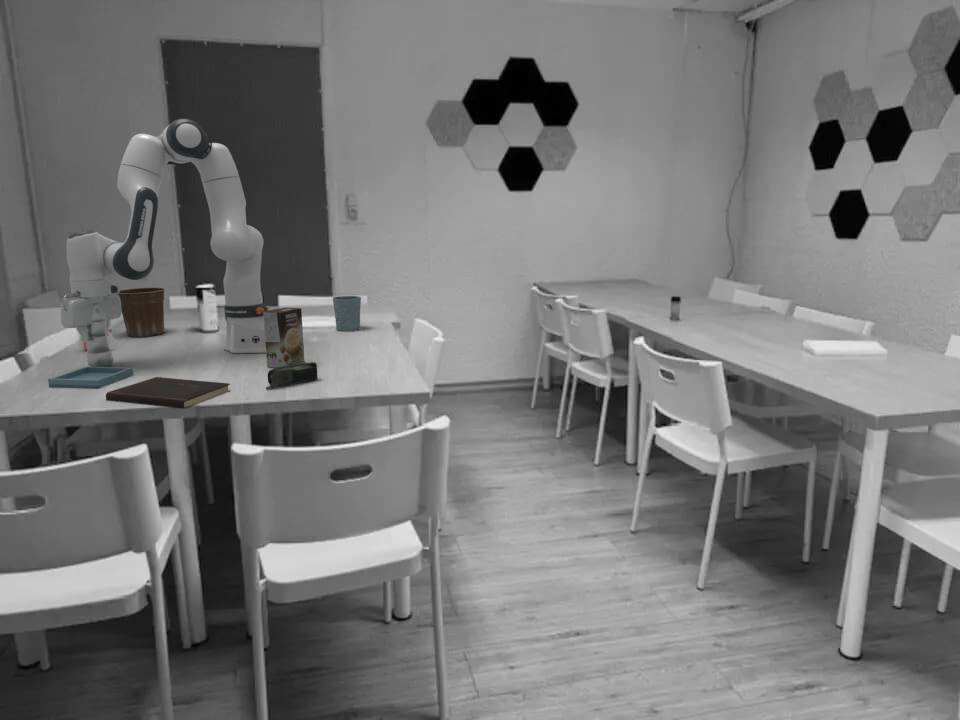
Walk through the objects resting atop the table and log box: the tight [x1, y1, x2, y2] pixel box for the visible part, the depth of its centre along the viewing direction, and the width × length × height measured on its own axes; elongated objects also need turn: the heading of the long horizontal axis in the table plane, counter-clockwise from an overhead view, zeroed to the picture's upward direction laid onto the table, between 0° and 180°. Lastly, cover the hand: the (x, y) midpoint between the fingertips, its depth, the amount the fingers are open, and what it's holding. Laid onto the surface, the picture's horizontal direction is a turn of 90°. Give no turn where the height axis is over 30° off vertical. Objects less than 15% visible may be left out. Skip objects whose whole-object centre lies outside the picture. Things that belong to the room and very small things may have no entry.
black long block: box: [265, 362, 319, 390], centre depth 174 cm, size 5×3×15 cm
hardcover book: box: [105, 376, 231, 409], centre depth 165 cm, size 16×23×2 cm
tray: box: [47, 366, 134, 389], centre depth 180 cm, size 14×14×2 cm
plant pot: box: [118, 287, 166, 338], centre depth 244 cm, size 16×16×16 cm
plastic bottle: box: [86, 303, 114, 367], centre depth 192 cm, size 6×7×20 cm
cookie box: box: [263, 307, 306, 369], centre depth 194 cm, size 9×6×16 cm
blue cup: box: [332, 295, 362, 333], centre depth 250 cm, size 10×10×12 cm
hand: (95, 338), depth 193 cm, fingers open, 6 cm apart
